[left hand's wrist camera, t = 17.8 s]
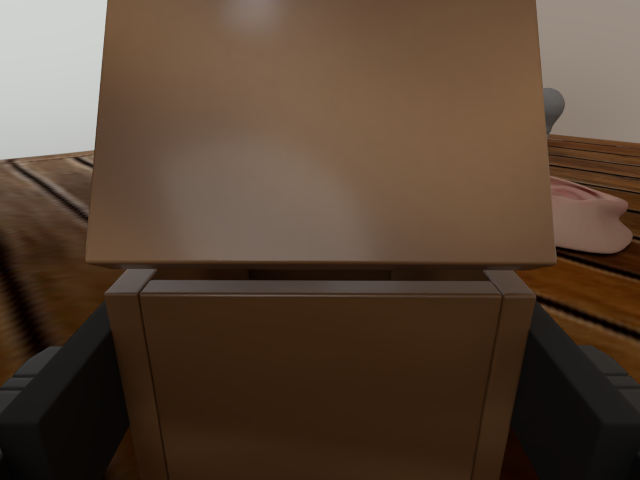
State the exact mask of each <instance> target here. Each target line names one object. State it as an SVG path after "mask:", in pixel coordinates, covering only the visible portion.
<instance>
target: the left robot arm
mask: <svg viewBox="0 0 640 480" xmlns="http://www.w3.org/2000/svg"><path fill="white" fill-rule="evenodd" d="M129 425H130V422H129V417H128V412H127V407H126V402H125V396H124V391H123V386H122V381H121V376H120V371H119V366H118V361H117V356H116V351H115V346H114V341H113V336H112V331H111V327H110V322H109V317H108V312H107V307H106V302H105V301H104V302H103V303H102V304H101V305H100V306H99V307H98V308H97V309H96V311H95V312H94V313H93V314H92V315H91V316H90V317H89V318H88V319H87V320H86V321H85V322H84V324H83V325H82V326H81V327H80V328H79V329H78V330H77V331H76V332H75V333H74V334H73V335H72V337H71V338H70V339H69V340H68V341H67V342H66V343H65V344H64V345H63V346H62V347H48V348H47V349H45V350H43V351H42V352H40V353H38V354H37V355H35V356H33V357H32V358H30V359H28V360H27V361H26V362H25V363H24V364H23V365H22V366H21V367H20V368H19V369H18V370H17V371H16V372H15V373H14V374H13V378H9V379H8V380H7V381H6V382H5V383H4V384H3V385H2V386H1V387H0V480H101V478H102V476H103V474H104V473H105V471H106V469H107V467H108V465H109V463H110V461H111V459H112V457H113V456H114V454H115V452H116V450H117V448H118V446H119V444H120V442H121V441H122V439H123V437H124V435H125V433H126V431H127V429H128V427H129ZM510 425H511V426H512V428H513V430H514V432H515V434H516V436H517V438H518V440H519V441H520V443H521V445H522V447H523V449H524V451H525V453H526V455H527V457H528V458H529V460H530V462H531V464H532V466H533V468H534V470H535V472H536V473H537V475H538V477H539V479H540V480H640V385H639V384H638V383H637V382H636V381H635V380H634V379H633V378H632V377H631V376H628V373H627V372H626V371H625V370H624V369H623V368H622V367H621V366H620V365H619V364H618V363H617V362H616V361H615V360H614V359H613V358H612V357H610V356H608V355H607V354H605V353H603V352H602V351H600V350H598V349H597V348H595V347H593V346H592V345H576V344H575V342H574V341H573V340H572V339H571V338H570V337H569V336H568V335H567V334H566V333H565V332H564V331H563V329H562V328H561V327H560V326H559V325H558V324H557V323H556V322H555V321H554V320H553V319H552V317H551V316H550V315H549V314H548V313H547V312H546V311H545V310H544V309H543V308H542V307H541V306H540V304H539V303H538V302H537V301H535V306H534V311H533V315H532V320H531V325H530V330H529V334H528V339H527V344H526V349H525V354H524V359H523V364H522V368H521V373H520V378H519V383H518V388H517V393H516V398H515V403H514V408H513V413H512V418H511V423H510Z"/></svg>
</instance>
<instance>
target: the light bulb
mask: <svg viewBox="0 0 640 480" xmlns="http://www.w3.org/2000/svg"><path fill="white" fill-rule="evenodd" d="M543 98H544V110H545V122H546V135H547V138H548V134H549V133H550V131H551V129H552V126H553V124H554V123H555V122H556V120H557V119H558V118H559V117H560V115H561V114H562V112H563V110H564V106H565V102H564V98H563V96H562V95H561V94H560V92H558V91H557V90H555V89H552V88H544V89H543Z"/></svg>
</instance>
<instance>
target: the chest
mask: <svg viewBox="0 0 640 480" xmlns="http://www.w3.org/2000/svg"><path fill="white" fill-rule="evenodd" d="M104 297H105V302H106V307H107V312H108V317H109V322H110V327H111V331H112V336H113V341H114V346H115V351H116V356H117V361H118V366H119V371H120V376H121V381H122V386H123V391H124V396H125V402H126V407H127V412H128V417H129V422H130V430H131V435H132V440H133V445H134V450H135V455H136V460H137V465H138V471H139V476H140V480H499V477H500V472H501V467H502V462H503V458H504V453H505V448H506V443H507V438H508V433H509V428H510V423H511V418H512V413H513V408H514V403H515V398H516V393H517V388H518V383H519V378H520V373H521V368H522V364H523V359H524V354H525V349H526V344H527V339H528V334H529V330H530V325H531V320H532V315H533V311H534V306H535V301H536V296H535V294H534V293H533V291H532V290H531V289H530V288H529V287H528V286H527V285H526V284H525V283H524V282H523V281H522V280H521V279H520V278H519V276H518V275H517V274H516V273H515V272H514V271H513V270H276V269H127V270H126V271H125V272H124V273H123V274H122V275H121V277H120V278H119V279H118V280H117V281H116V282H115V283H114V284H113V285H112V286H111V287H110V288H109V289H108V290H107V291H106V292H105V295H104Z"/></svg>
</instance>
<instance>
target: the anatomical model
mask: <svg viewBox="0 0 640 480" xmlns="http://www.w3.org/2000/svg"><path fill="white" fill-rule="evenodd" d="M550 184H551V197H552V209H553V222H554V234H555V246H556V247H561V248H566V249H571V250H577V251H584V252H590V253H599V254H610V253H616V252H619V251H621V250H623V249H624V248H625V247H626V246H627V245H629V244H630V242H631V240H632V237H633V234H632V232H631V231H630V230H629V229H628V228H627V227H626V226H625V225H624V224H622V223H621V222H620V220H619V217H620V216H621V215H622V214H623V213H625V212H626V210H627V209H628V203H627V202H626V201H625V200H623V199H620V198H617V197H615V196H612V195H608V194H605V193H602V192H599V191H596V190H593V189H591V188H588V187H585V186H582V185H579V184H576V183H573V182H570V181H567V180H563V179H560V178H556V177H553V176H550Z"/></svg>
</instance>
